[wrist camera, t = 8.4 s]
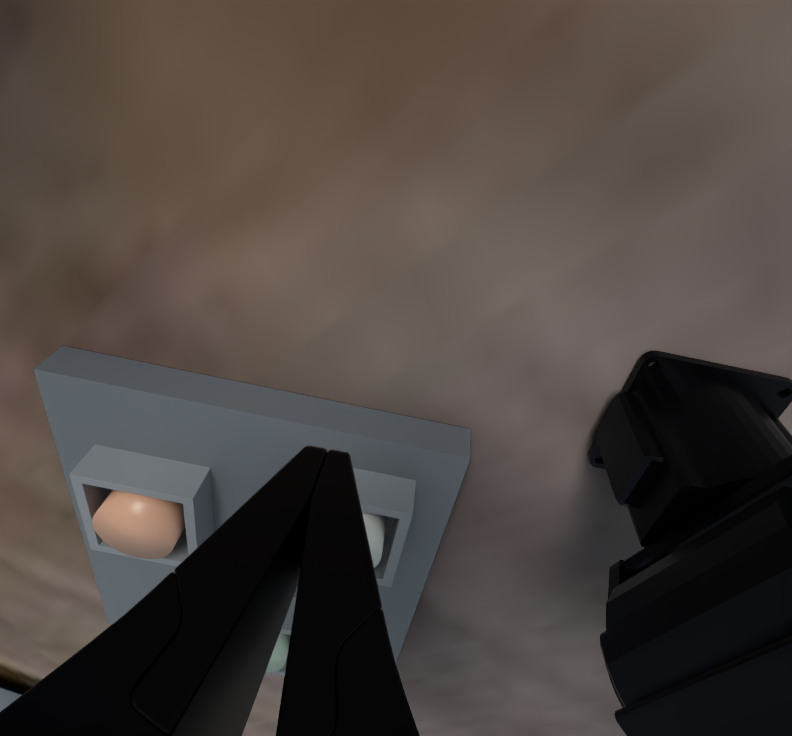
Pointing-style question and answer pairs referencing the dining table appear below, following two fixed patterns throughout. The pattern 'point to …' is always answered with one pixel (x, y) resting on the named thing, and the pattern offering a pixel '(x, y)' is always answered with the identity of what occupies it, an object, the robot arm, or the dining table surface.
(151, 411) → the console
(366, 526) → the ivory button
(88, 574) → the dining table surface
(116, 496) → the terracotta button
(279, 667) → the sage button
